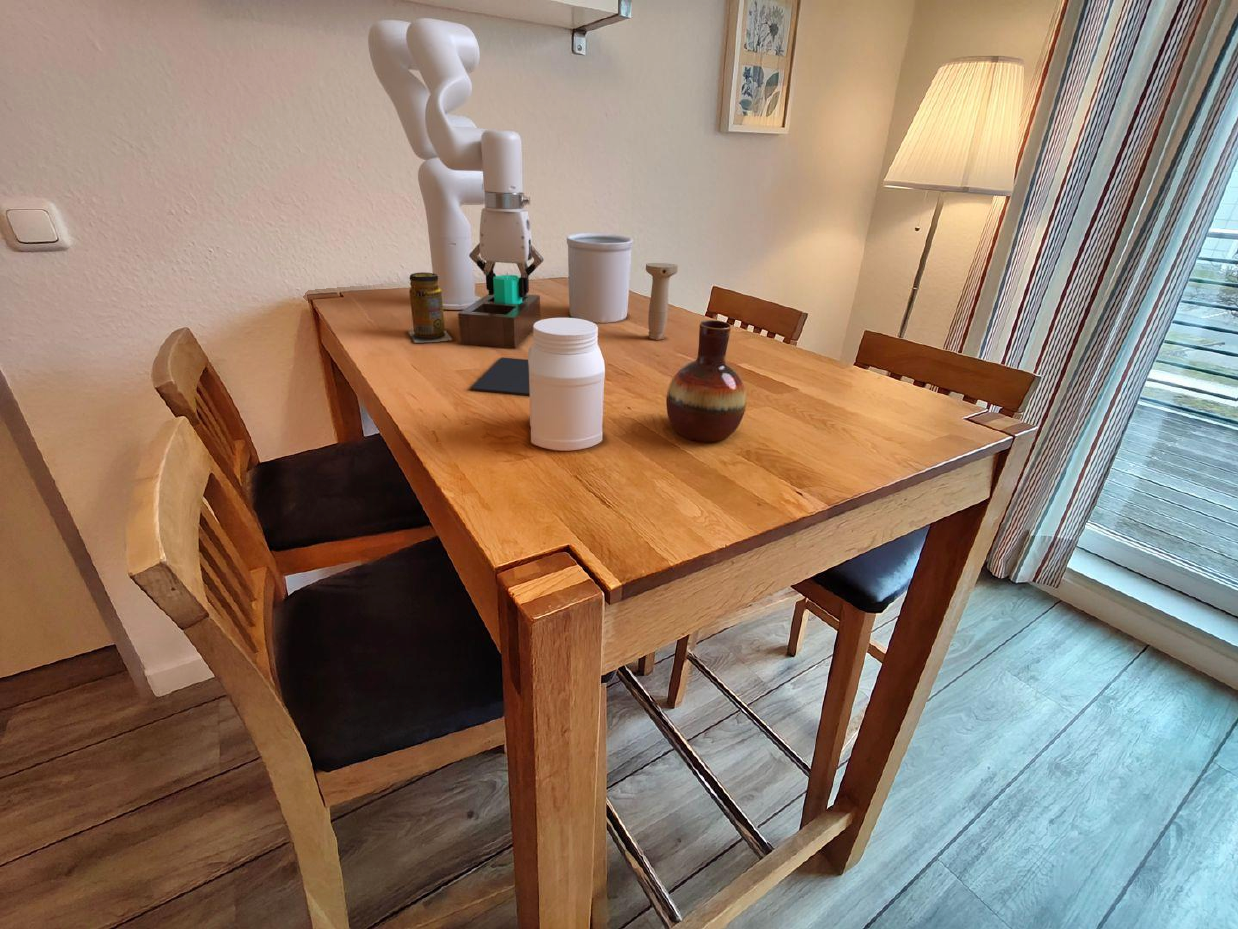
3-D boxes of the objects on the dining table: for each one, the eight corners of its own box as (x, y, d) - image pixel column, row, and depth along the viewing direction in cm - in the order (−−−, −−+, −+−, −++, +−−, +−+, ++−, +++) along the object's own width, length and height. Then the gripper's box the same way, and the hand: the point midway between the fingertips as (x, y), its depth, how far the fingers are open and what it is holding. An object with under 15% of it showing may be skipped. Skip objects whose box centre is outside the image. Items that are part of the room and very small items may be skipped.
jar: (605, 450, 77) (609, 338, 70) (531, 452, 76) (528, 338, 69) (594, 414, 87) (597, 314, 80) (529, 416, 86) (526, 314, 79)
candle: (500, 331, 123) (497, 272, 118) (491, 324, 128) (488, 267, 122) (527, 329, 126) (525, 271, 120) (518, 322, 131) (516, 266, 125)
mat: (470, 390, 94) (470, 387, 93) (501, 359, 108) (501, 357, 107) (581, 400, 92) (581, 398, 92) (597, 367, 106) (597, 365, 106)
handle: (673, 341, 123) (680, 267, 116) (643, 341, 122) (648, 266, 115) (668, 335, 127) (674, 263, 120) (639, 335, 126) (643, 262, 119)
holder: (460, 343, 115) (457, 313, 112) (492, 318, 132) (491, 291, 129) (514, 348, 114) (513, 317, 111) (540, 322, 131) (539, 295, 128)
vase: (651, 419, 87) (659, 315, 79) (716, 411, 90) (730, 311, 83) (684, 452, 78) (697, 338, 70) (756, 442, 81) (775, 333, 74)
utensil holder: (617, 327, 131) (621, 244, 122) (556, 318, 135) (556, 238, 126) (637, 312, 143) (641, 236, 135) (580, 305, 147) (581, 231, 139)
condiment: (444, 329, 123) (438, 270, 117) (452, 340, 116) (447, 278, 111) (408, 332, 120) (400, 271, 114) (414, 344, 113) (406, 280, 108)
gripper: (551, 203, 118) (552, 294, 126) (468, 198, 119) (474, 288, 128) (542, 206, 111) (543, 302, 120) (454, 200, 113) (462, 295, 121)
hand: (507, 294), depth 124 cm, fingers closed on candle, 6 cm apart
